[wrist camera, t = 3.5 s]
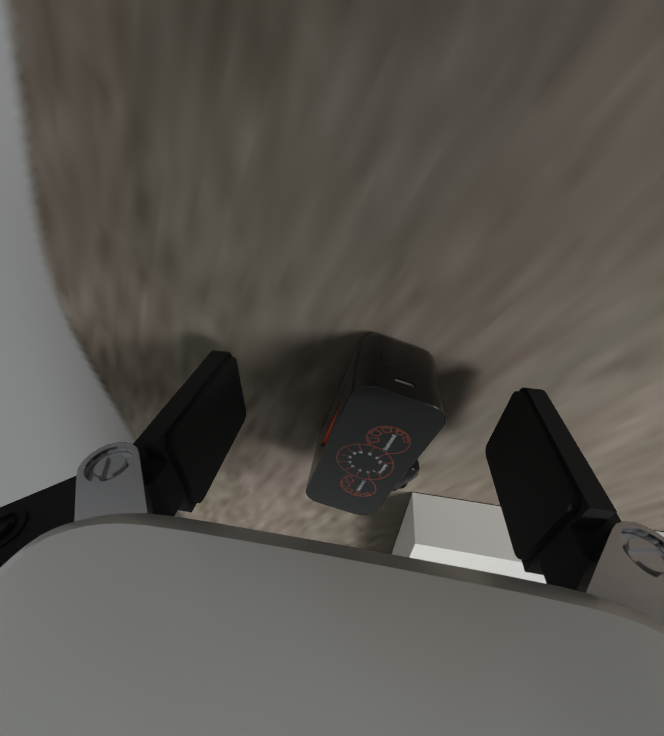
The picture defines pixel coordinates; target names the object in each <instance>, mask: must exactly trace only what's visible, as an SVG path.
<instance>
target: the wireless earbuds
mask: <svg viewBox="0 0 664 736" xmlns="http://www.w3.org/2000/svg"><path fill="white" fill-rule="evenodd" d="M444 423H445V413H444V408H443V403H442V398H441V392H440V387H439V382H438V376H437V371H436V366H435V362H434V359H433V357H432V355H431V354H430V353H429V352H428V351H426V350H424V349H422V348H419V347H416V346H413V345H411V344H408V343H405V342H402V341H399V340H396V339H393V338H390V337H387V336H385V335H382V334H377V333H373V334H369V335H366V336H365V337H364V338H362V339H361V341H360V342H359V344H358V346H357V348H356V351H355V353H354V355H353V358H352V360H351V362H350V365H349V367H348V369H347V372H346V374H345V376H344V379H343V381H342V383H341V386H340V388H339V390H338V393H337V395H336V398H335V400H334V402H333V405H332V407H331V409H330V412H329V414H328V416H327V419H326V421H325V423H324V426H323V428H322V430H321V433H320V435H319V439H318V443H317V447H316V451H315V455H314V459H313V463H312V467H311V471H310V475H309V480H308V484H307V488H306V494H307V496H308V497H309V498H310V499H312V500H313V501H316V502H318V503H321V504H325V505H328V506H331V507H334V508H337V509H341V510H344V511H347V512H350V513H354V514H358V515H369V514H372V513H374V512H375V511H376V510H377V509H378V507H379V506H380V505H381V504H382V502H383V501H384V500H385V499H386V497H387V496H388V495H389V494H390V492H391V491H396V490H397V489H401V488H404V487H405V486H406V485H407V484H408V482H409V481H411V480H413V479H414V478H415V477H416V476H417V475H418V472H419V462H418V457H419V456H420V455H421V454H422V452H423V451H424V450H425V449H426V447H427V446H428V445H429V444H430V442H431V441H432V440H433V439H434V437H435V436H436V435H437V434H438V432H439V431H440V430H441V429H442V427H443V425H444Z"/></svg>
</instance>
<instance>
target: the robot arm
mask: <svg viewBox="0 0 664 736" xmlns="http://www.w3.org/2000/svg"><path fill="white" fill-rule="evenodd" d="M245 417H246V409H245V403H244V398H243V393H242V387H241V382H240V377H239V372H238V366H237V361H236V358H235V357H232V355H231V353H229V352H223V351H212V352H211V353H210V354H209V355H208V356H207V357H206V358H205V360H204V361H203V362H202V363H201V364H200V366H199V367H198V368H197V369H196V370H195V372H194V373H193V374H192V375H191V376H190V377H189V379H188V380H187V381H186V382H185V383H184V385H183V386H182V387H181V388H180V389H179V390H178V391H177V393H176V394H175V395H174V396H173V397H172V398H171V400H170V401H169V402H168V403H167V404H166V406H165V407H164V408H163V409H162V410H161V412H160V413H159V414H158V415H157V416H156V417H155V419H154V420H153V421H152V422H151V423H150V425H149V426H148V427H147V428H146V429H145V431H144V432H143V433H142V434H141V435H140V436H139V438H138V439H137V440H136V441H135V442H134V444H131V443H127V442H117V443H113V444H109V445H106V446H104V447H101V448H99V449H97V450H96V451H95V452H93V453H91V454H90V455H89V456H88V457H87V458H86V459H85V460H84V461H83V462H82V463H81V465H80V466H79V468H78V471H77V475H76V476H75V477H72V478H70V479H68V480H65V481H63V482H60V483H58V484H56V485H53V486H51V487H49V488H46V489H44V490H41V491H39V492H36V493H34V494H31V495H29V496H27V497H24V498H22V499H20V500H17V501H15V502H12V503H10V504H7V505H5V506H3V507H0V736H664V537H663V536H662V535H660V534H659V533H658V532H656V531H654V530H652V529H650V528H648V527H646V526H644V525H641V524H638V523H635V522H627V521H623V522H621V520H620V518H619V517H618V515H617V513H616V512H617V511H616V509H615V508H614V506H613V504H612V503H611V501H610V499H609V498H608V496H607V494H606V493H605V491H604V489H603V488H602V486H601V484H600V483H599V481H598V479H597V478H596V476H595V474H594V472H593V471H592V469H591V467H590V466H589V464H588V462H587V461H586V459H585V457H584V456H583V454H582V452H581V451H580V449H579V447H578V446H577V444H576V442H575V441H574V439H573V437H572V436H571V434H570V432H569V430H568V429H567V427H566V425H565V424H564V422H563V420H562V419H561V417H560V415H559V414H558V412H557V410H556V409H555V407H554V405H553V404H552V402H551V400H550V399H549V397H548V395H547V394H546V392H545V391H544V390H540V389H531V388H521V389H520V390H519V391H515V392H514V393H513V394H512V396H511V398H510V400H509V402H508V404H507V406H506V408H505V410H504V412H503V414H502V416H501V418H500V420H499V422H498V424H497V426H496V428H495V429H494V431H493V433H492V435H491V437H490V439H489V441H488V443H487V445H486V458H487V461H488V464H489V468H490V471H491V475H492V478H493V482H494V485H495V489H496V492H497V495H498V499H499V502H500V506H501V509H502V513H503V516H504V520H505V523H506V526H507V530H508V533H509V537H510V540H511V544H512V547H513V550H514V553H515V555H516V557H517V558H518V559H521V561H522V564H523V567H524V571H525V572H529V573H534V574H540V575H544V578H545V581H546V583H547V584H545V583H540V582H535V581H530V580H525V579H520V578H515V577H511V576H506V575H501V574H496V573H490V572H485V571H479V570H474V569H469V568H463V567H458V566H453V565H447V564H442V563H436V562H431V561H426V560H420V559H415V558H409V557H404V556H398V555H393V554H387V553H382V552H376V551H371V550H365V549H360V548H354V547H349V546H343V545H338V544H332V543H327V542H321V541H315V540H310V539H304V538H299V537H293V536H287V535H282V534H276V533H270V532H265V531H259V530H253V529H247V528H242V527H236V526H230V525H225V524H219V523H212V522H206V521H200V520H193V519H187V518H181V517H174V516H175V514H176V512H177V510H181V511H187V512H192V511H193V509H194V507H195V505H196V504H197V503H201V502H202V501H203V499H204V497H205V495H206V494H207V492H208V490H209V488H210V486H211V484H212V482H213V480H214V478H215V476H216V474H217V472H218V471H219V469H220V467H221V465H222V463H223V461H224V459H225V457H226V455H227V453H228V451H229V449H230V447H231V446H232V444H233V442H234V440H235V438H236V436H237V434H238V432H239V430H240V428H241V426H242V424H243V422H244V420H245Z"/></svg>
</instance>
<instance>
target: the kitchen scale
mask: <svg viewBox="0 0 664 736" xmlns="http://www.w3.org/2000/svg"><path fill="white" fill-rule="evenodd" d="M656 532H658V531H656ZM658 533H659V534H660V535H662V536H663V537H664V532H658ZM392 554H393V555H398V556H404V557H409V558H415V559H420V560H426V561H431V562H436V563H442V564H447V565H453V566H458V567H463V568H469V569H474V570H479V571H485V572H490V573H496V574H501V575H506V576H511V577H515V578H520V579H525V580H530V581H535V582H540V583H545V584H547V583H546V581H545V578H544V575H540V574H534V573H529V572H525V571H524V567H523V564H522V561H521V559H518V558H517V557H516V555H515V553H514V550H513V547H512V544H511V540H510V537H509V533H508V530H507V526H506V523H505V520H504V516H503V513H502V509H501V506H495V505H488V504H482V503H476V502H469V501H463V500H457V499H451V498H444V497H438V496H432V495H425V494H419V493H413V492H412V495H411V498H410V501H409V504H408V507H407V510H406V513H405V516H404V519H403V522H402V525H401V528H400V530H399V533H398V536H397V539H396V542H395V545H394V548H393V551H392Z"/></svg>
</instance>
